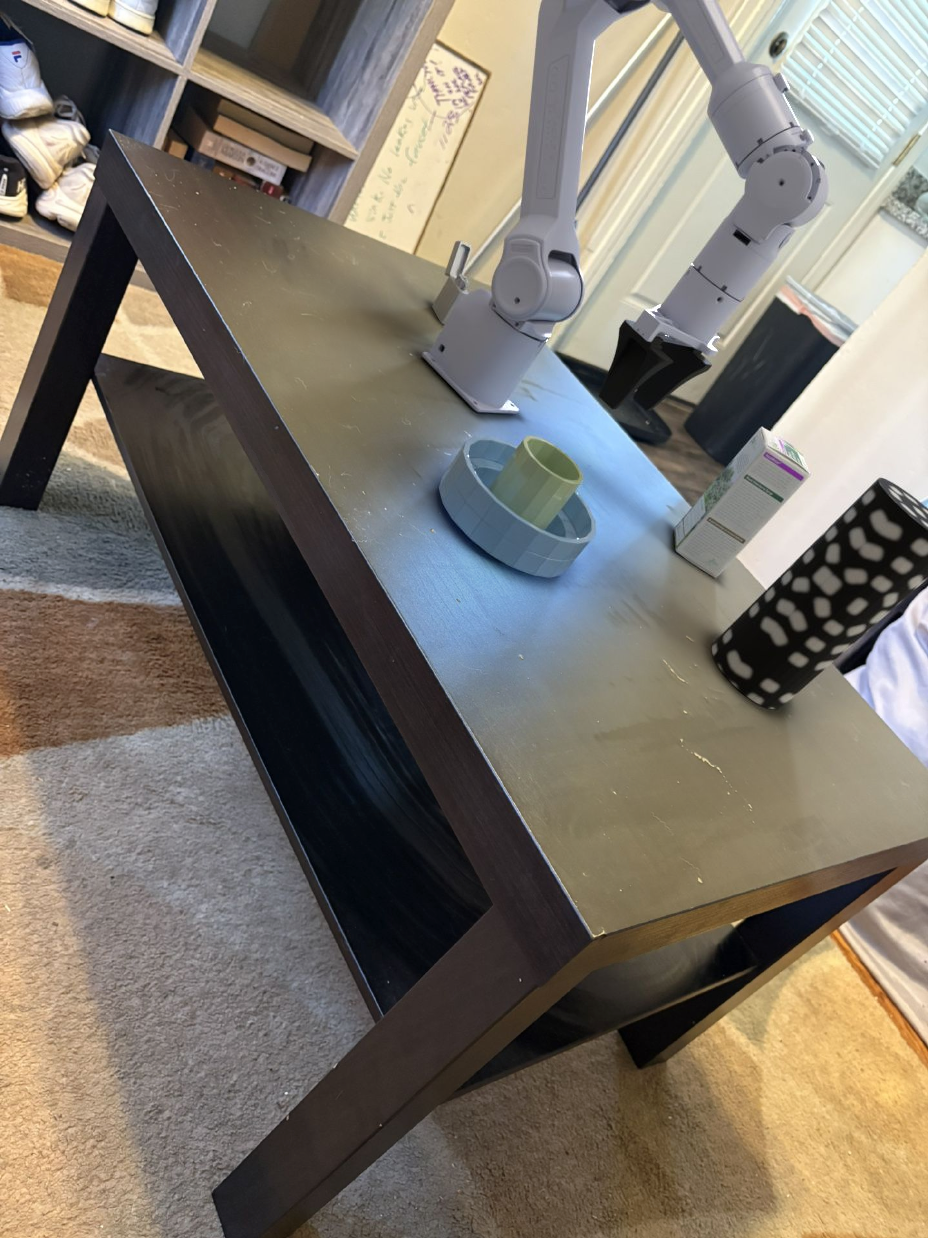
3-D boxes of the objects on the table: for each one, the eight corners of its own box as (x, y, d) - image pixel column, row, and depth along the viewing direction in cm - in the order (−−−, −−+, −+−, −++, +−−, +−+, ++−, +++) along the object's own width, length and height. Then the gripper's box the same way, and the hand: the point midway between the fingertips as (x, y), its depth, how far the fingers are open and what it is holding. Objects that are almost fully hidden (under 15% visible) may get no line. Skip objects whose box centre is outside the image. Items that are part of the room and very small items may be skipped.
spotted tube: (790, 724, 77) (976, 564, 67) (715, 678, 76) (894, 506, 66) (776, 670, 84) (942, 517, 74) (707, 626, 83) (867, 464, 72)
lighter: (452, 327, 105) (488, 268, 101) (440, 322, 104) (476, 262, 100) (436, 299, 109) (469, 241, 105) (425, 294, 108) (458, 235, 104)
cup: (465, 502, 72) (511, 435, 69) (503, 498, 77) (548, 435, 73) (509, 550, 71) (559, 484, 67) (546, 543, 75) (594, 481, 72)
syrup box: (716, 580, 93) (816, 476, 85) (672, 550, 92) (768, 442, 84) (713, 555, 98) (806, 455, 90) (670, 527, 97) (761, 423, 89)
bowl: (407, 479, 71) (434, 435, 69) (496, 474, 81) (522, 436, 79) (509, 592, 67) (542, 550, 65) (589, 572, 77) (620, 535, 75)
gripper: (720, 299, 72) (619, 429, 79) (773, 318, 83) (681, 430, 91) (660, 248, 74) (567, 380, 81) (720, 274, 86) (634, 387, 93)
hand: (624, 403), depth 86 cm, fingers open, 7 cm apart
